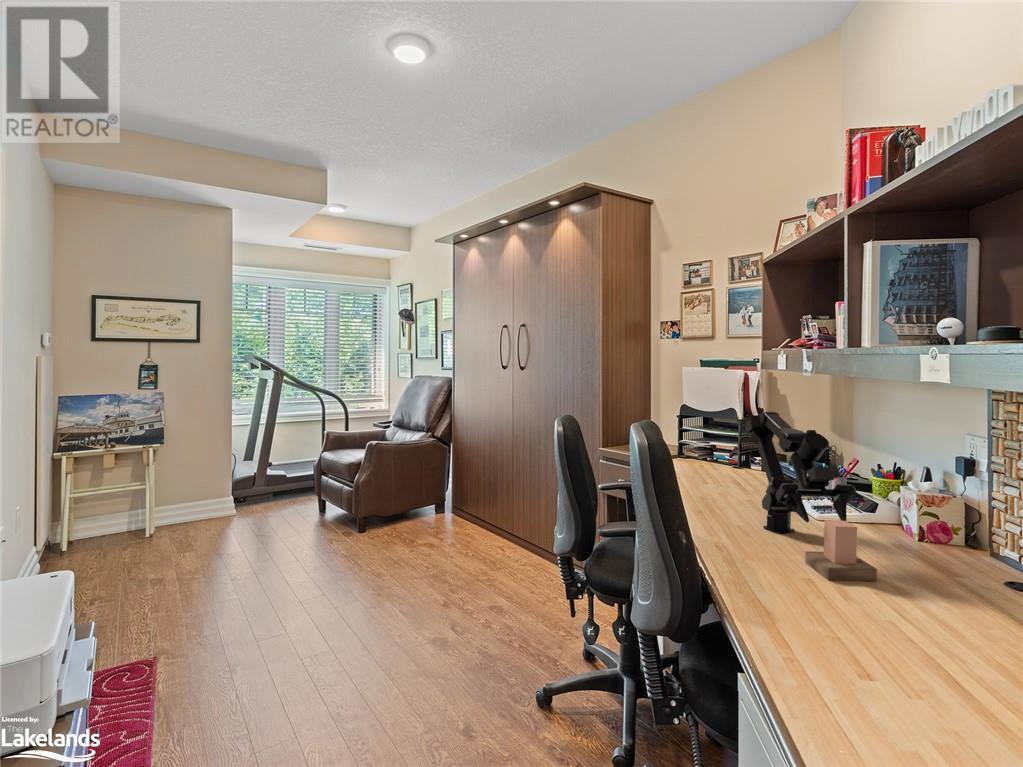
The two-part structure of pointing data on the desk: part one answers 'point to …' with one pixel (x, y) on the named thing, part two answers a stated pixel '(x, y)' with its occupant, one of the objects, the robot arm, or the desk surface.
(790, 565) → the desk surface
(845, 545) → the terracotta block
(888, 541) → the desk surface
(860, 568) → the walnut plinth
